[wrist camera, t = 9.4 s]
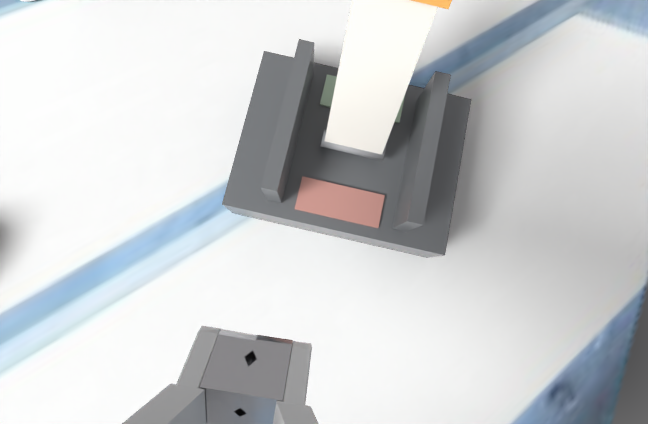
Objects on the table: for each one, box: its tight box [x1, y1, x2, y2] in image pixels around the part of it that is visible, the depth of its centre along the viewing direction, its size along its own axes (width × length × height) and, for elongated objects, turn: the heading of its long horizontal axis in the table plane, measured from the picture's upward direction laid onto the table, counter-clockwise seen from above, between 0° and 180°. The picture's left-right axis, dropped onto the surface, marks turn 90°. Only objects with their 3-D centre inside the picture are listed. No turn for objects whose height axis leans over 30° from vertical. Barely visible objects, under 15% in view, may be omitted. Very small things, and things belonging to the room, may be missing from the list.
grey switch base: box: [222, 39, 471, 257], centre depth 27 cm, size 12×16×8 cm
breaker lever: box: [321, 0, 452, 161], centre depth 21 cm, size 2×5×13 cm, turn 78°
